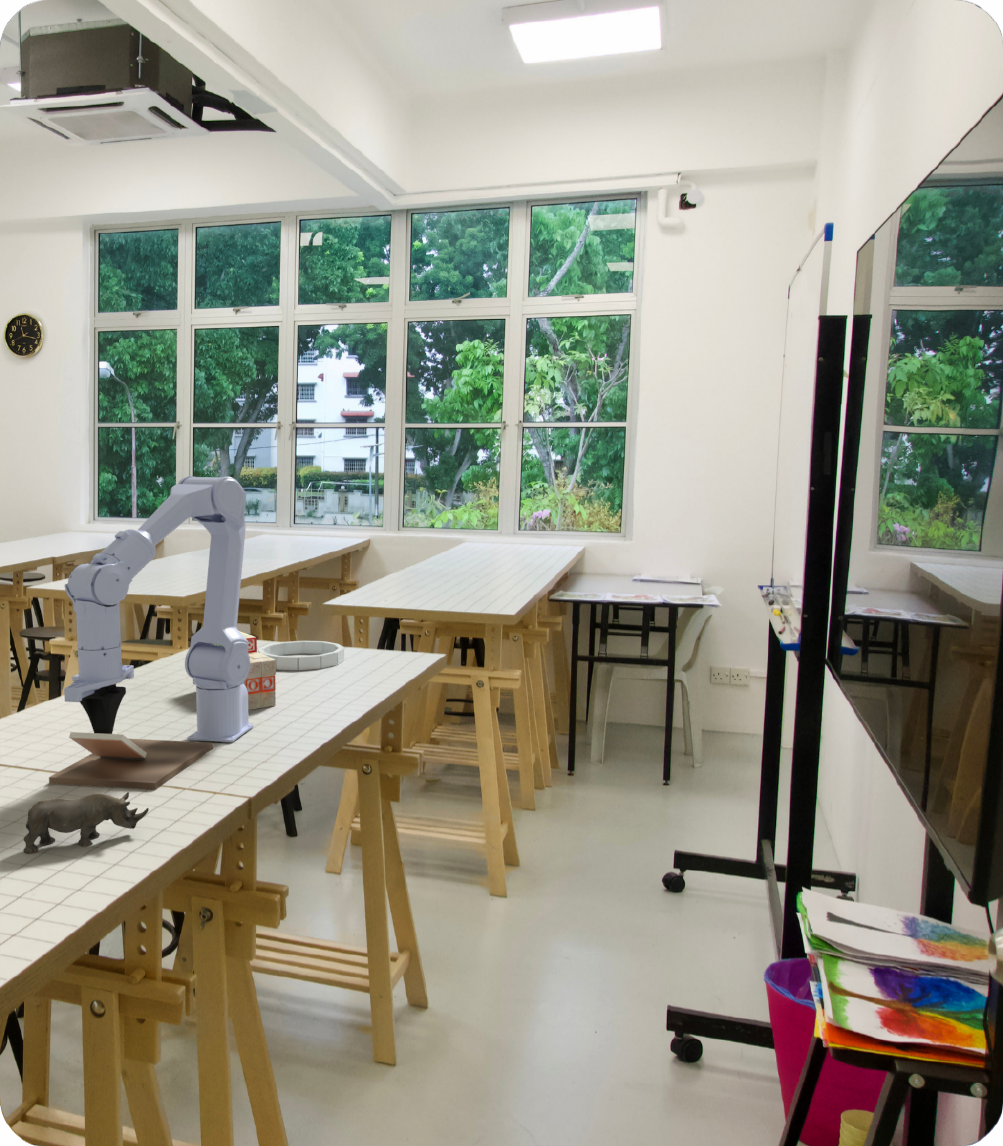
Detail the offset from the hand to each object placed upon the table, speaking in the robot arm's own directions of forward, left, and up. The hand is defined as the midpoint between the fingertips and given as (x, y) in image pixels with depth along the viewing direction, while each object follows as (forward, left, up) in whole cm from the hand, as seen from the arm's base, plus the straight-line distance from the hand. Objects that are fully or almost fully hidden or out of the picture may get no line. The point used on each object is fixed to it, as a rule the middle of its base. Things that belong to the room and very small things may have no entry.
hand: (103, 737), depth 125 cm
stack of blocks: (-47, +1, -6) cm, 47 cm away
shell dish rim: (-80, +2, -6) cm, 81 cm away
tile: (-2, 0, -1) cm, 2 cm away
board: (-5, +2, -6) cm, 8 cm away
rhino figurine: (+21, +10, -6) cm, 24 cm away
